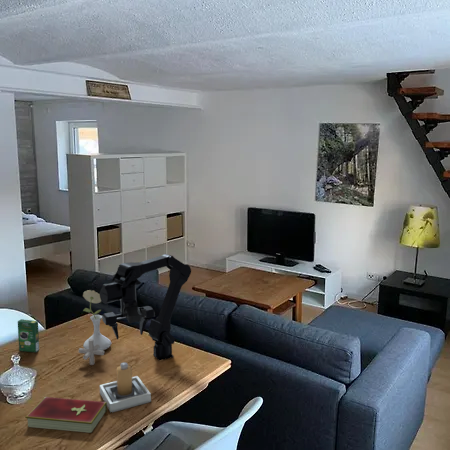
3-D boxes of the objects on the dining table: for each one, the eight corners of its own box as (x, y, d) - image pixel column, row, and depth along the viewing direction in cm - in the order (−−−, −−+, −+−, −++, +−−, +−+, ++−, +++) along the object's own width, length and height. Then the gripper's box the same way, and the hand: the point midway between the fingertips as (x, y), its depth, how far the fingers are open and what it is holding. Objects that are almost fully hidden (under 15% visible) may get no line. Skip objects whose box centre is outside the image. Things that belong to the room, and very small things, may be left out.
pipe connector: (98, 371, 178) (96, 346, 176) (73, 368, 180) (72, 343, 178) (109, 359, 188) (108, 335, 186) (86, 357, 190) (85, 333, 188)
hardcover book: (46, 407, 155) (45, 395, 154) (107, 412, 152) (106, 400, 151) (26, 428, 143) (25, 416, 142) (91, 435, 140) (91, 422, 139)
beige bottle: (125, 388, 164) (124, 358, 162) (138, 394, 161) (137, 363, 159) (111, 396, 159) (110, 365, 157) (124, 402, 155) (123, 370, 153)
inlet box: (137, 383, 169) (137, 375, 168) (150, 401, 157) (150, 393, 157) (99, 393, 162) (99, 385, 162) (110, 412, 151) (110, 404, 150)
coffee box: (40, 350, 196) (38, 320, 193) (36, 353, 193) (34, 322, 191) (23, 348, 197) (20, 318, 195) (18, 351, 194) (16, 321, 192)
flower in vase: (117, 346, 200) (115, 289, 195) (96, 356, 190) (94, 297, 186) (95, 339, 206) (93, 284, 202) (74, 348, 197) (71, 291, 193)
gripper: (109, 307, 164) (110, 350, 166) (159, 299, 173) (160, 339, 175) (101, 298, 173) (102, 338, 176) (149, 291, 182) (150, 329, 185)
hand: (129, 336), depth 178 cm, fingers open, 9 cm apart
